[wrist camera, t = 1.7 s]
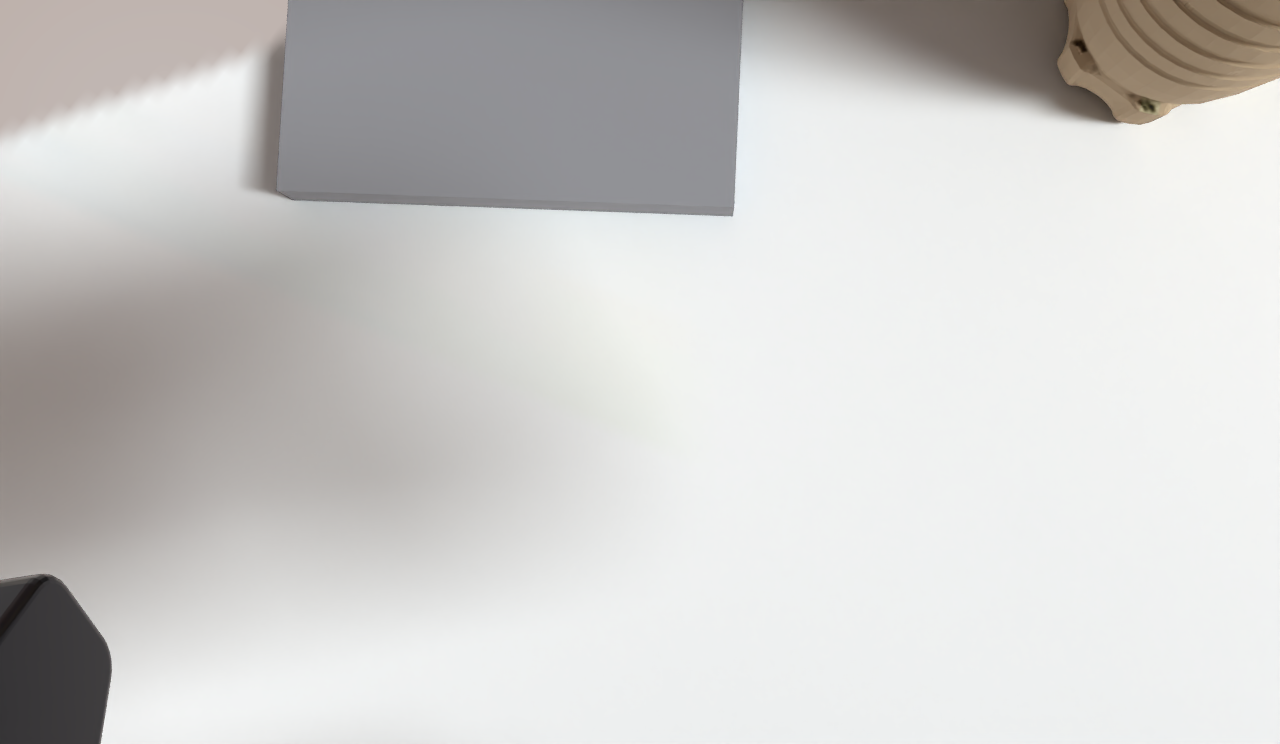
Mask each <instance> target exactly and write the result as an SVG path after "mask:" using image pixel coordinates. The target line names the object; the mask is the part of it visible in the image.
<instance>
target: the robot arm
mask: <svg viewBox="0 0 1280 744" xmlns="http://www.w3.org/2000/svg"><path fill="white" fill-rule="evenodd" d="M111 673H112V664H111V656H110V651H109V649H108V646H107V643H106V641H105V640H104V638H103V636H102V635H101V634H100V632H99V631H98V629H97V628H96V627H95V625H94V624H93V623H92V621H91V620H90V618H89V617H88V616H87V614H86V613H85V612H84V610H83V609H82V607H81V606H80V605H79V603H78V602H77V600H76V599H75V598H74V596H73V595H72V594H71V592H70V591H69V589H68V588H67V587H66V585H65V584H64V583H63V582H62V581H61V580H59V579H57V578H56V577H54V576H52V575H47V574H37V575H31V576H24V577H17V578H11V579H4V580H0V744H101V738H102V731H103V725H104V719H105V713H106V707H107V700H108V694H109V688H110V682H111Z"/></svg>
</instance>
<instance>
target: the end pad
mask: <svg viewBox="0 0 1280 744" xmlns="http://www.w3.org/2000/svg"><path fill="white" fill-rule="evenodd" d="M742 11H743V0H288V14H287V29H286V45H285V61H284V77H283V92H282V108H281V124H280V140H279V155H278V171H277V187H276V191H278V192H280V193H281V194H283V195H285V196H287V197H289V198H290V199H292V200H306V201H333V202H361V203H388V204H415V205H442V206H470V207H497V208H524V209H551V210H579V211H606V212H633V213H660V214H688V215H715V216H733V210H734V193H735V170H736V147H737V125H738V102H739V79H740V56H741V34H742Z"/></svg>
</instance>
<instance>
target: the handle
mask: <svg viewBox="0 0 1280 744" xmlns="http://www.w3.org/2000/svg"><path fill="white" fill-rule="evenodd" d="M1064 3H1065V5H1066V7H1067V8H1068V14H1069V29H1068V34H1067V39H1066V44H1065V47H1064V49H1063V51H1062V53H1061V55H1060V56H1059V58H1058V59H1057V66H1058V68H1059V71H1060V73H1061V75H1062V77H1063V78H1064V80H1065V82H1066V83H1067V84H1068V85H1070V86H1080V87H1082V88H1085V89H1087V90H1089V91H1091V92H1092V93H1094V94H1096V95H1098V96H1099V97H1100V98H1101V99H1102V100H1103V101H1104V102H1105V103H1106V104H1107V105H1108V106H1109V107H1110V109H1111V110H1112V114H1113V116H1114V118H1115V119H1116V120H1117V121H1120V122H1124V123H1128V124H1138V125H1141V124H1145V123H1149V122H1151V121H1154V120H1156V119H1158V118H1160V117H1162V116H1164V115H1166V114H1168V113H1169V112H1170V110H1171V109H1173V108H1175V107H1177V106H1180V105H1182V104H1200V103H1204V102H1208V101H1212V100H1216V99H1220V98H1224V97H1228V96H1232V95H1236V94H1239V93H1242V92H1244V91H1247V90H1249V89H1252V88H1254V87H1257V86H1260V85H1262V84H1265V83H1267V82H1270V81H1272V80H1275V79H1278V78H1280V0H1064Z"/></svg>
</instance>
